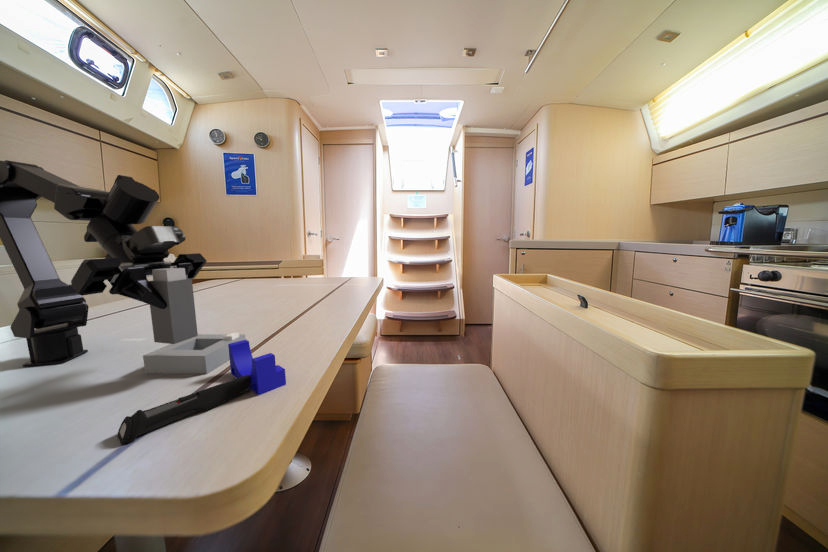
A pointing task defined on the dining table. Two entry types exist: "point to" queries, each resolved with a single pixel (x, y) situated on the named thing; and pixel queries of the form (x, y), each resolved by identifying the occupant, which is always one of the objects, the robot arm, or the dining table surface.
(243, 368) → the cable clip
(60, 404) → the dining table surface
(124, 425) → the electric trimmer
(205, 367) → the socket
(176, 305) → the plug
